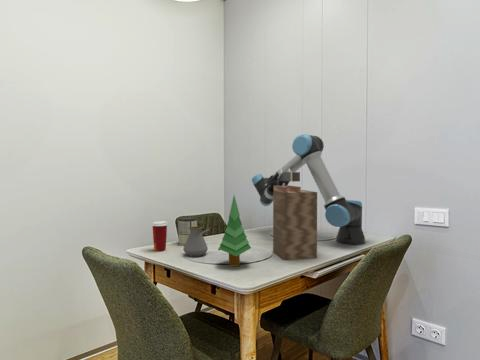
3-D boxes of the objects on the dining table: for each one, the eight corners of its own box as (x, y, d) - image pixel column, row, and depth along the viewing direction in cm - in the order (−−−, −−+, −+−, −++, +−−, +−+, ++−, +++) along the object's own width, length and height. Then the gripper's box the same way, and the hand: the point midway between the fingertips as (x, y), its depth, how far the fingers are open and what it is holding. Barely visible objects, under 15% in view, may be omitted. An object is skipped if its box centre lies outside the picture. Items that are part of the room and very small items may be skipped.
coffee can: (181, 241, 188) (181, 216, 188) (199, 241, 187) (199, 216, 187) (175, 245, 178) (175, 219, 178) (195, 246, 177) (194, 219, 176)
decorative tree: (209, 264, 143) (209, 193, 142) (239, 258, 153) (239, 192, 152) (228, 272, 133) (228, 196, 132) (258, 264, 142) (258, 194, 141)
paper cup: (170, 249, 170) (170, 221, 170) (161, 252, 163) (161, 223, 163) (158, 247, 173) (158, 220, 173) (148, 251, 166) (148, 222, 166)
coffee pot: (188, 259, 152) (188, 225, 151) (180, 253, 162) (179, 222, 161) (230, 253, 162) (230, 222, 161) (220, 248, 172) (220, 219, 172)
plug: (283, 179, 187) (283, 171, 187) (299, 181, 165) (299, 172, 165) (276, 180, 186) (276, 171, 186) (292, 181, 164) (292, 172, 164)
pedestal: (303, 250, 167) (303, 185, 166) (316, 257, 154) (317, 186, 152) (273, 252, 163) (273, 185, 162) (284, 260, 150) (284, 187, 148)
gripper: (287, 196, 198) (301, 176, 178) (259, 196, 194) (271, 177, 174) (284, 184, 202) (299, 164, 182) (257, 185, 197) (269, 164, 177)
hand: (285, 170), depth 178 cm, fingers closed on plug, 4 cm apart
